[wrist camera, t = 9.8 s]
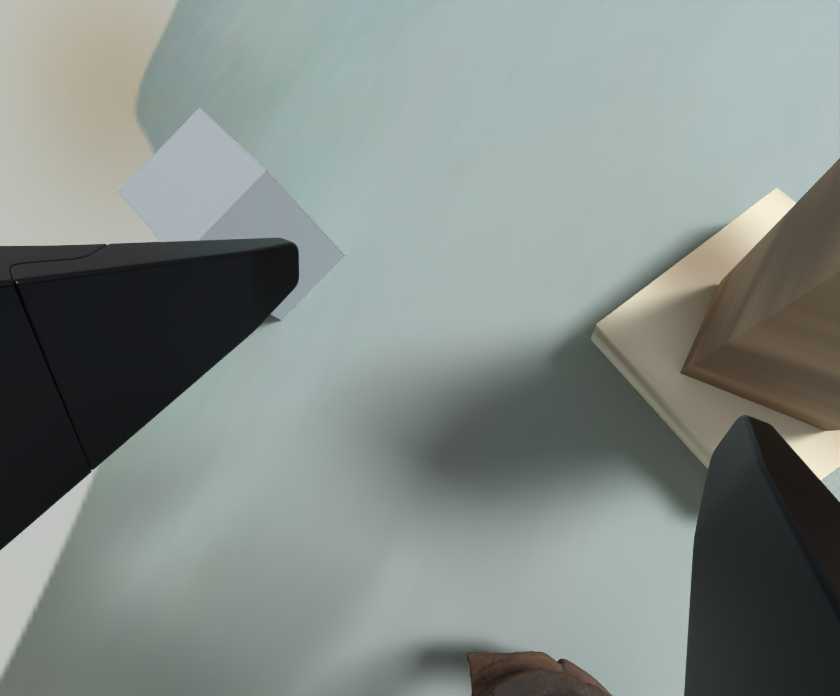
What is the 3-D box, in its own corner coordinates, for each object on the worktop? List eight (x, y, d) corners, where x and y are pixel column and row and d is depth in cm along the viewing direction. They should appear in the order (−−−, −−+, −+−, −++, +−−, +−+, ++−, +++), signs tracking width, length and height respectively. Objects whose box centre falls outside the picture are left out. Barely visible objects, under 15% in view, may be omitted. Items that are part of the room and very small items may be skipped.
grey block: (281, 320, 26) (177, 261, 19) (231, 265, 28) (117, 191, 20) (345, 255, 26) (266, 170, 19) (291, 204, 28) (199, 107, 20)
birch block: (738, 508, 20) (771, 514, 17) (589, 342, 23) (595, 324, 20) (924, 374, 19) (991, 358, 16) (747, 223, 22) (776, 187, 19)
